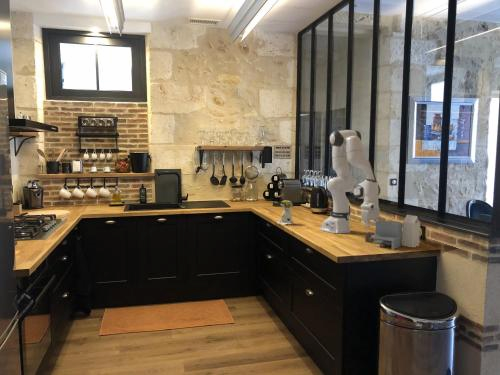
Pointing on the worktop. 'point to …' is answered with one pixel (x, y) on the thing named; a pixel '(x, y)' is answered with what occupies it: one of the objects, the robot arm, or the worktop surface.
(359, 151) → the robot arm
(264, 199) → the worktop surface
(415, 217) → the milk carton
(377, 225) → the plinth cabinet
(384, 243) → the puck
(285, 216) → the potted plant
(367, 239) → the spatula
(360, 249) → the worktop surface
